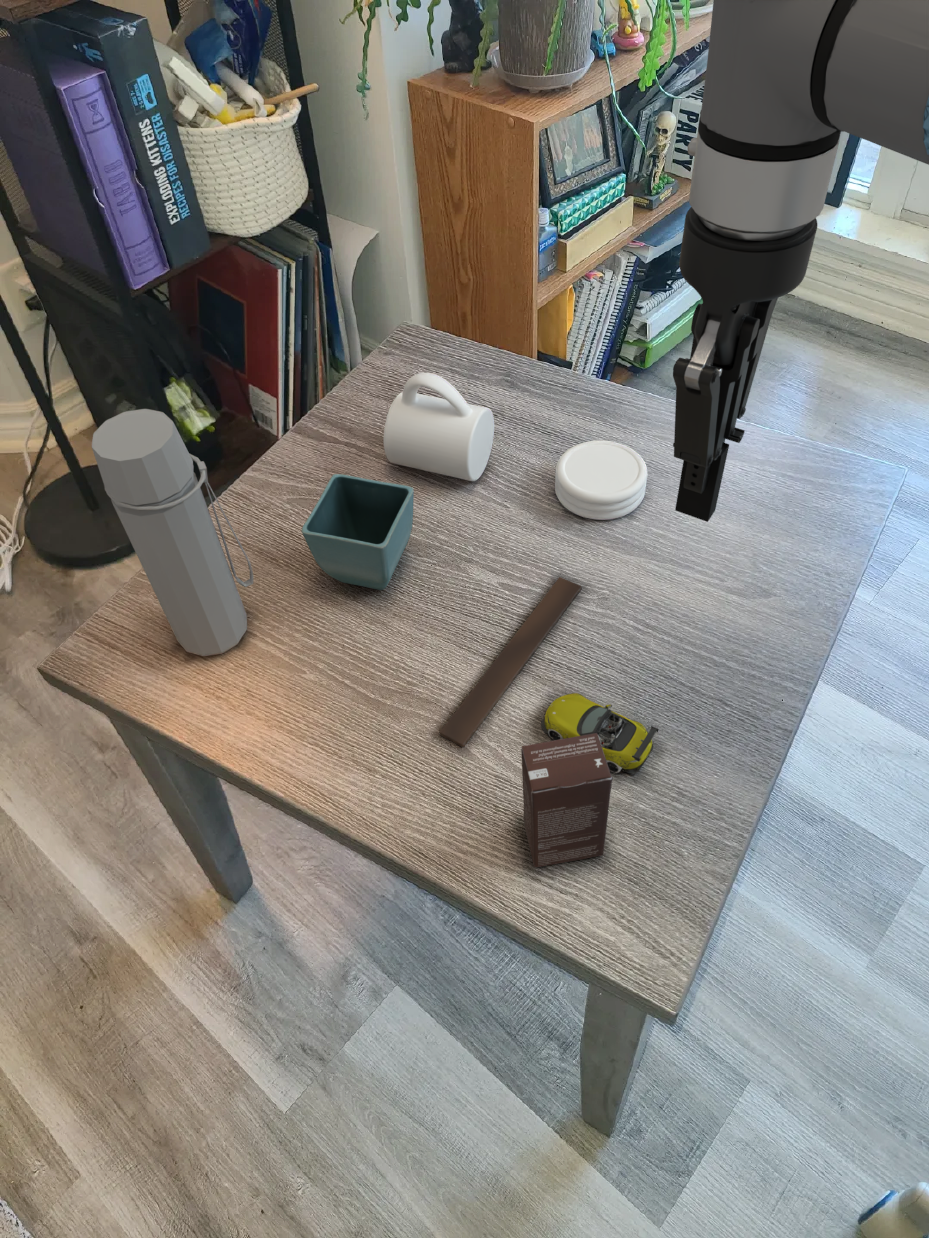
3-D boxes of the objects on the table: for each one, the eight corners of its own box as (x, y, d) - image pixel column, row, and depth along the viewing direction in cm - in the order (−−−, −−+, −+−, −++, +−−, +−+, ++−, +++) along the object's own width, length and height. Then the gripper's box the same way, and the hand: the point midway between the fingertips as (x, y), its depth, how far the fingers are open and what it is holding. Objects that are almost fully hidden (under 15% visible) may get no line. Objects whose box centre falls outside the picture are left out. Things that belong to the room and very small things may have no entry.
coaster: (536, 496, 100) (537, 472, 98) (589, 450, 105) (590, 426, 102) (611, 535, 96) (613, 511, 93) (662, 485, 101) (665, 461, 98)
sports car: (561, 692, 83) (563, 672, 81) (659, 741, 79) (664, 722, 77) (533, 731, 81) (533, 712, 78) (633, 784, 77) (636, 765, 74)
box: (590, 807, 76) (599, 729, 66) (604, 857, 73) (615, 782, 63) (520, 819, 75) (519, 743, 66) (531, 869, 72) (532, 797, 63)
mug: (470, 496, 101) (464, 409, 92) (387, 477, 104) (374, 391, 95) (495, 451, 106) (493, 364, 97) (416, 434, 109) (406, 348, 99)
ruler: (581, 589, 91) (581, 586, 91) (463, 747, 80) (463, 744, 80) (559, 579, 92) (559, 576, 92) (439, 735, 81) (439, 732, 80)
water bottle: (188, 673, 87) (94, 477, 68) (169, 618, 91) (76, 420, 72) (278, 639, 89) (212, 440, 70) (256, 587, 94) (187, 387, 74)
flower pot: (395, 609, 91) (384, 547, 84) (315, 593, 93) (298, 531, 86) (422, 549, 96) (415, 486, 89) (346, 534, 98) (333, 472, 91)
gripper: (732, 155, 57) (683, 448, 75) (644, 246, 50) (614, 545, 68) (852, 177, 54) (771, 477, 72) (776, 277, 47) (707, 581, 65)
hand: (695, 510), depth 70 cm, fingers closed
